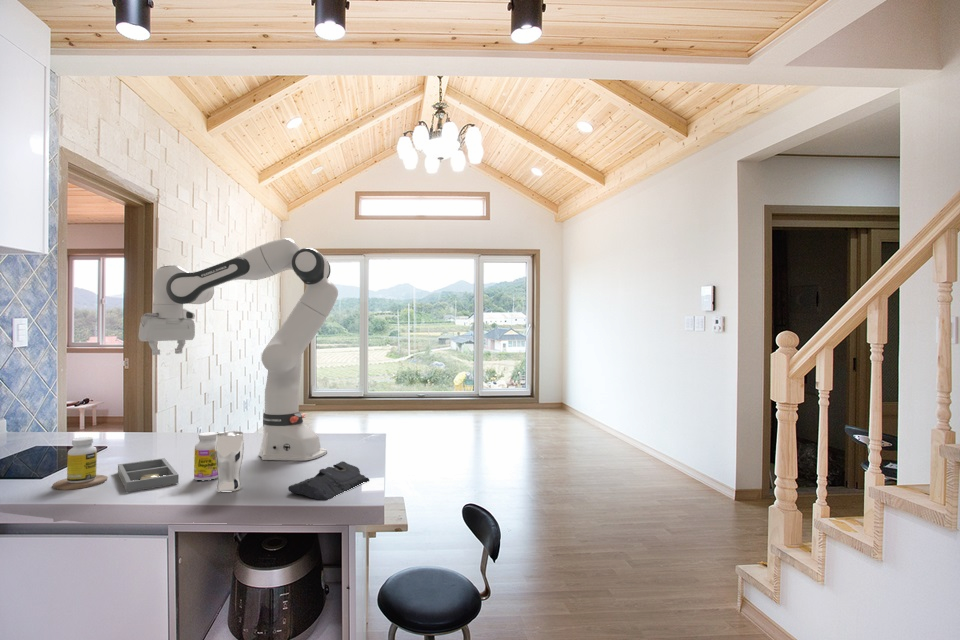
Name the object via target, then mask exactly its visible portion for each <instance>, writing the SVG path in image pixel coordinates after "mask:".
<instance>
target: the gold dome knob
mask: <svg viewBox="0 0 960 640" xmlns="http://www.w3.org/2000/svg"><path fill="white" fill-rule="evenodd" d="M154 477H159V474H148V475H144V476H141V479H147V478H154ZM141 479H140V480H141Z"/></svg>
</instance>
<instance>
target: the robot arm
mask: <svg viewBox="0 0 960 640" xmlns="http://www.w3.org/2000/svg"><path fill="white" fill-rule="evenodd" d="M289 270H292V271H293V272H294V274H296V276H297V277H298V278H299V279H300V280H301V281H302V283H304V285H305V286H306V287H305V291H304V292H303V294H302V295H301V296H300V298H299V300H298V301H297V303H296V304H295V306H294V308H293V309H292V310H291V312H290V314H289V315H288V316H287V319H285V321H284V322H283V324H282V325H281V326H280V327H279V329H278V330H277V331H276V332H275V334H273V337H272V338H271V339H270V341H269V342H268V344H267V345H266V346H265V347H264V349H263V351H262V354H261V363H262V365H263V366H264V368H265V369H266V371H267V376H266V381H265V382H266V383H265V389H264V412H263V415H262V425H263V433H262V440H261V445H260V449H259V452H258V456H259V457H261V460H263V461H294V462H295V461H296V462H297V461H303V462H304V461H310V460H311V461H312V460H314V459H317V458H318V459H319V458H320V457H322V456H324V455H326V454H327V453H328V449H327V448H323V447H321V440H320V437H319V435H318V434H317V433H316V432H315V431H314V430H312V429H311V428H310V427H309V426H308V425H307V424H305V423H304V419H305V418H306V413H304V414H301V412H300V411H299V409H300V408H299V407H300V406H299V401H300V383H301V382H300V380H301V371H302V358H303V357H302V356H303V353H304V352H305V350H306V349H307V348H308V346H309V345H310V344H311V342H312V340H313V339H314V338H315V337H316V335H317V333H318V332H319V331H320V329H321V328H322V327H323V325H324V322H325V321H326V320H327V318H328V317H329V315H330V313H331V312H332V309H333V307H334V306H335V304H336V301H337V299H338V296H339V290H338V288H337V287H336V285H335V284H334V283H333V282H331V281H329V277H330V276H331V265H330V263H329V261H328V260H327V258H326V257H325V256H324V255H323V254H322V253H321V252H320V251H318V250H317V249H314V248H312V247H303V248H300V246H299V245H298V244H297V243H296V241H294V240H293V239H291V238H288V237H283V238H279V239H276V240H272V241H268V242H266V243H264V244H261V245H258V246H256V247H253V248H252V249H249V250H247V251H246V252H243V253H241V254H239V255H237V256H235V257H233V258H231V259H228V260H226V261H222V262H220V263H217V264H215V265H212V266H209V267H206V268H204V269H201V270H198V271H193V272H190V271H188V270H185V269H184V268H183V267H181V266H179V265H164V266H161V267H158V268H157V269H156V270H155V272H154V277H153V285H152V286H153V288H152V289H153V291H152V293H153V295H154V299H153V302H152V312H146V313H144V314H143V315H142V316H141V318H140V323H139V329H138V337H137V338H138V339H139V341H140V342H148V346H149V348H150V349H151V355H152V356H159V355H160V354H161V353H160V352H161V350H160V349H158V346H157V345H158V343H159V342H161V341H162V342H166V341H167V342H169V341H171V342H172V341H176V342H177V343H176V344H177V347H176V348H174V353H175V354H176V355H177V354H178V355H179V354H181V355H182V354H183V349H184V347H185V344H186V341H192V340H193V339H194V338H195V336H196V335H195V334H196V329H195V328H196V325H195V321H194V319H195V317H196V315H195V313H194V312H192V311H190V310H187V309H185V308H184V305H186V304H189V305H190V304H191V305H202V304H206V303H208V302H210V301H211V300H212V298H213V297H214V293H215V288H214V287H218V286H220V285H222V284H225V283H228V282H232V281H237V280H238V281H239V280H246V281H247V280H248V281H249V280H250V281H259V280H262V279H263V280H264V279H267V278H270V277H272V276H275V275H277V274H280V273H282V272H285V271H289Z"/></svg>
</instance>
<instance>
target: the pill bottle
mask: <svg viewBox="0 0 960 640" xmlns="http://www.w3.org/2000/svg"><path fill="white" fill-rule="evenodd" d="M93 443H94V438H93V437H92V436H86V437H85V436H84V437H76V438H73V439H72V440H71V445H72V447H71V448H70V449H69V450H68V451H67V458H66V459H67V464H66V465H67V466H66V471H67V474H66V479H67V481H68V482H69V483H84V482H88V481H92V480H94V479H95V478H96V475H97V460H98V457H97V456H98V453H97V452H98V451H97V450H98V449H97V447H96V446H94V445H93Z"/></svg>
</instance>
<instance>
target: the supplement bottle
mask: <svg viewBox="0 0 960 640" xmlns="http://www.w3.org/2000/svg"><path fill="white" fill-rule="evenodd" d="M216 434H218V433H217V432H215V431H209V432H207V431H205V432H201V433H198V440H199V442H197V443H196V444H195V445H194V457H193V459H194V463H193V465H194V468H193V478H194V480H195V481H197V480H208V481H211V480H210V479H214V478H216V479H218V478H217V477H218V470H217V465H216V458H215V443H216ZM214 480H215V479H214Z"/></svg>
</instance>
